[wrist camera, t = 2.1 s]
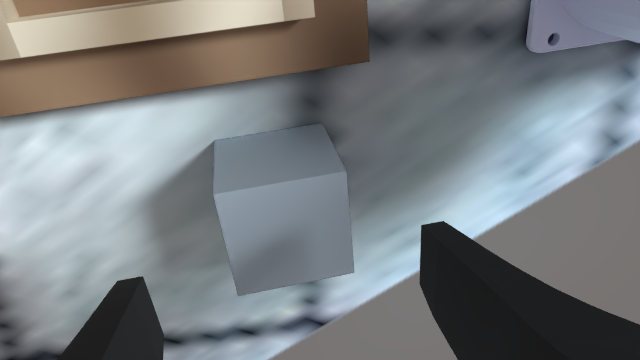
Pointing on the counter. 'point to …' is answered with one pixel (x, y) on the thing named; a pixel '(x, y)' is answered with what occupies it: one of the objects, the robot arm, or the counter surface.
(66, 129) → the counter surface
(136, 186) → the counter surface
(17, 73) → the base board
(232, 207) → the block
